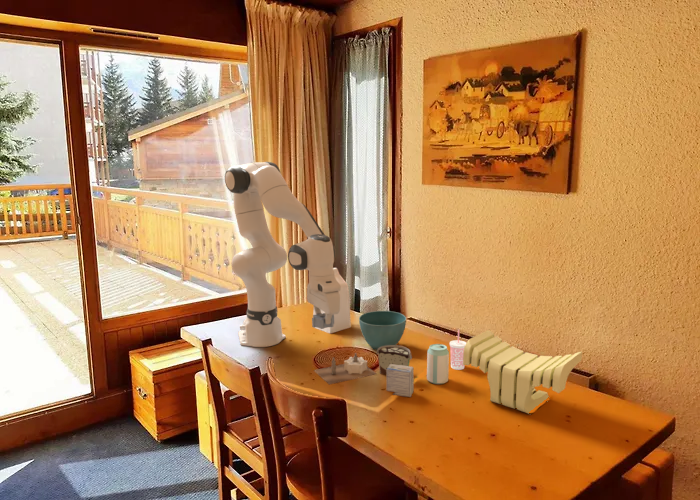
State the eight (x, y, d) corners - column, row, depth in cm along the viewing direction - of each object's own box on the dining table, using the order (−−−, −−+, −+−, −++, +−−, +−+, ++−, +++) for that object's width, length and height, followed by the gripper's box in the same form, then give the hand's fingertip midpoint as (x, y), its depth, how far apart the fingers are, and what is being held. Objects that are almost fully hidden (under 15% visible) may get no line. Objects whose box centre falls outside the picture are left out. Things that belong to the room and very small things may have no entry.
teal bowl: (399, 359, 201) (399, 327, 199) (353, 353, 207) (352, 322, 204) (410, 342, 218) (410, 313, 215) (367, 337, 224) (366, 309, 221)
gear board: (313, 373, 189) (312, 353, 187) (359, 363, 197) (359, 345, 195) (329, 387, 177) (328, 367, 176) (376, 377, 185) (377, 357, 184)
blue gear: (308, 324, 190) (308, 315, 190) (329, 320, 194) (328, 312, 193) (317, 330, 184) (316, 320, 183) (338, 326, 188) (337, 317, 187)
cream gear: (340, 371, 187) (340, 362, 187) (353, 363, 194) (352, 355, 193) (358, 376, 183) (358, 367, 183) (370, 368, 190) (370, 359, 189)
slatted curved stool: (462, 395, 171) (463, 342, 168) (487, 379, 182) (489, 329, 179) (556, 428, 151) (560, 367, 148) (577, 407, 162) (582, 351, 159)
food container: (416, 375, 186) (416, 347, 185) (410, 382, 181) (410, 353, 179) (382, 369, 192) (382, 342, 190) (376, 376, 186) (376, 348, 184)
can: (430, 375, 187) (431, 341, 184) (450, 378, 184) (451, 344, 181) (424, 382, 180) (424, 348, 178) (444, 386, 177) (445, 352, 175)
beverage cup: (446, 368, 192) (447, 330, 189) (451, 362, 197) (452, 325, 194) (463, 371, 189) (464, 333, 186) (468, 365, 194) (469, 328, 192)
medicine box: (413, 391, 174) (414, 366, 172) (410, 397, 170) (410, 371, 168) (389, 388, 176) (389, 363, 175) (386, 394, 172) (386, 368, 171)
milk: (333, 321, 245) (332, 264, 241) (350, 327, 237) (350, 269, 232) (312, 327, 237) (311, 269, 233) (329, 333, 229) (328, 273, 224)
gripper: (301, 277, 194) (303, 314, 196) (325, 289, 176) (326, 330, 178) (318, 275, 197) (319, 312, 199) (343, 286, 179) (344, 327, 181)
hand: (323, 320), depth 189 cm, fingers closed on blue gear, 6 cm apart
